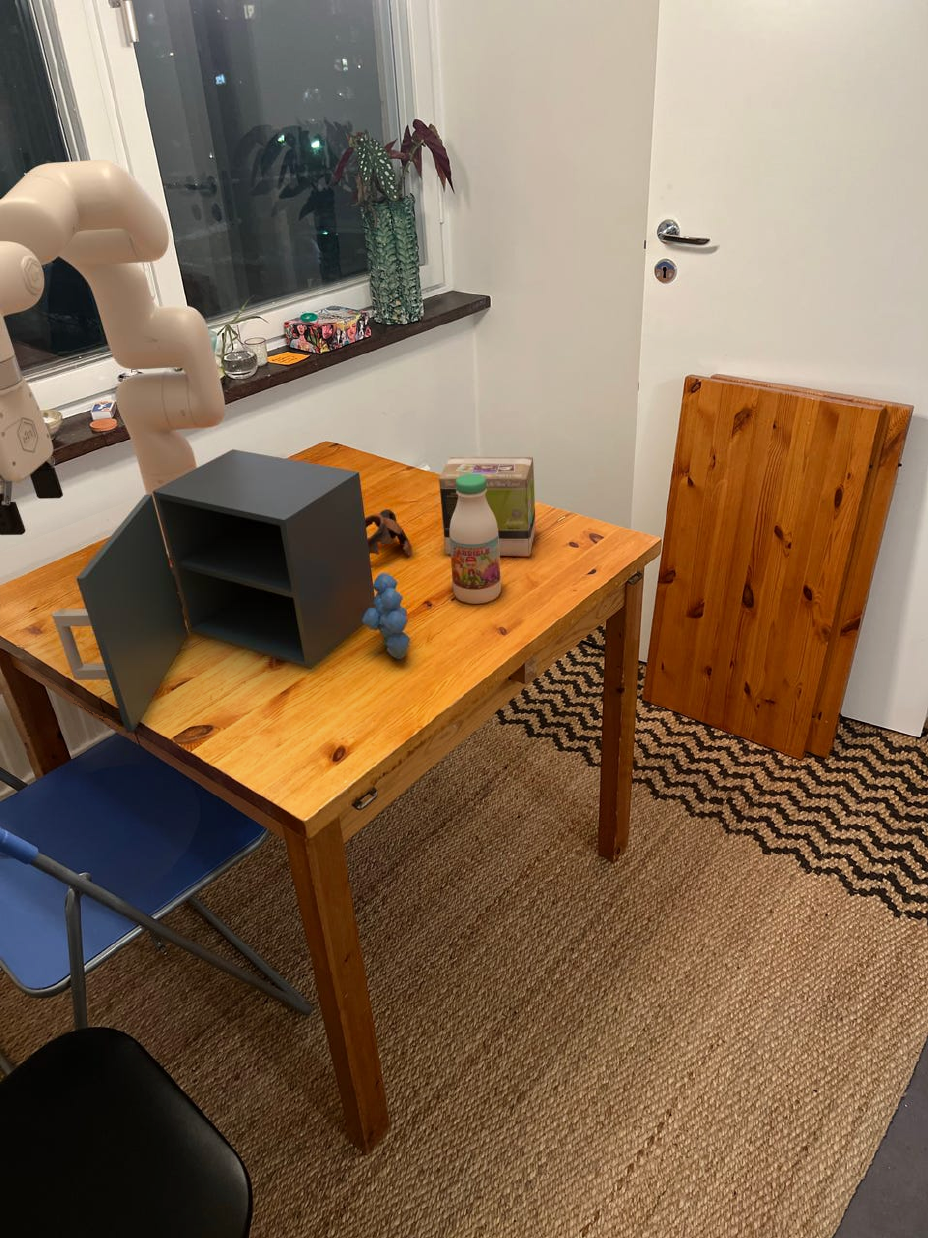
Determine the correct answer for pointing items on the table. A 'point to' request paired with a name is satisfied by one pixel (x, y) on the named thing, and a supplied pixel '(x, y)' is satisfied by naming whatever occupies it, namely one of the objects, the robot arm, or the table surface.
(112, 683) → the cupboard door
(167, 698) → the table surface
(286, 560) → the cupboard
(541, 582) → the table surface
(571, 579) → the table surface
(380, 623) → the grapes
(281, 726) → the table surface
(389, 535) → the brown curved legged piece
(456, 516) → the milk bottle
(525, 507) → the tea box
